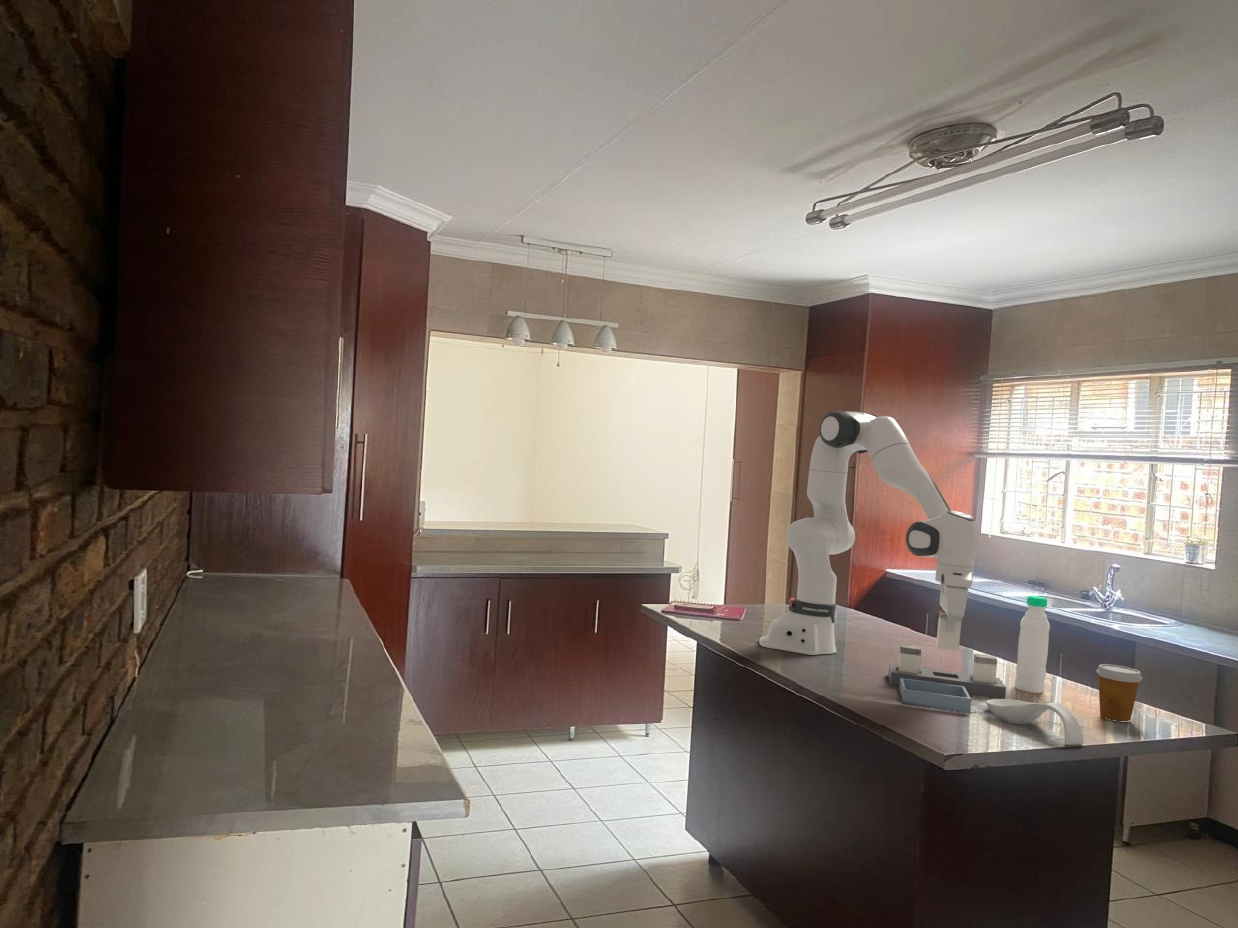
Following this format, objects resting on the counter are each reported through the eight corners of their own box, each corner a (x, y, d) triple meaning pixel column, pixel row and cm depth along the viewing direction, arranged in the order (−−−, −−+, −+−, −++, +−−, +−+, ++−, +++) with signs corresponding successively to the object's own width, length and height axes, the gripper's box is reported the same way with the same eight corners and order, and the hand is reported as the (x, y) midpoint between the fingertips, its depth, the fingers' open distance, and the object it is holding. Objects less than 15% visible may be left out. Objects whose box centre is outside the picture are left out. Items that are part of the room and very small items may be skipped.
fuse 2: (972, 692, 225) (976, 656, 225) (970, 688, 228) (973, 653, 228) (994, 695, 224) (997, 659, 223) (991, 691, 227) (995, 656, 227)
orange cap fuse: (937, 647, 227) (940, 612, 227) (936, 645, 230) (939, 610, 230) (958, 650, 226) (961, 615, 226) (956, 647, 229) (960, 612, 229)
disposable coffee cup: (1147, 724, 211) (1152, 674, 211) (1115, 725, 208) (1119, 673, 208) (1114, 712, 220) (1119, 663, 220) (1083, 712, 217) (1087, 663, 217)
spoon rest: (973, 713, 210) (976, 682, 210) (1013, 711, 214) (1016, 682, 214) (1055, 747, 188) (1058, 713, 187) (1097, 745, 192) (1100, 712, 191)
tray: (902, 704, 211) (903, 689, 211) (898, 691, 223) (900, 677, 223) (969, 713, 208) (971, 698, 208) (963, 700, 219) (964, 686, 219)
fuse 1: (897, 681, 229) (900, 646, 229) (896, 678, 232) (899, 644, 232) (918, 684, 228) (921, 649, 228) (917, 681, 231) (920, 646, 231)
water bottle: (1045, 698, 229) (1054, 600, 228) (1015, 693, 231) (1023, 596, 231) (1042, 691, 236) (1051, 596, 235) (1013, 687, 238) (1021, 593, 238)
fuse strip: (889, 687, 226) (891, 672, 226) (887, 678, 236) (889, 663, 236) (1004, 703, 220) (1006, 687, 220) (997, 693, 230) (999, 677, 230)
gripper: (936, 569, 238) (931, 621, 239) (945, 579, 219) (939, 635, 219) (962, 572, 237) (956, 624, 237) (973, 582, 217) (967, 639, 217)
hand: (948, 629), depth 228 cm, fingers closed on orange cap fuse, 3 cm apart
